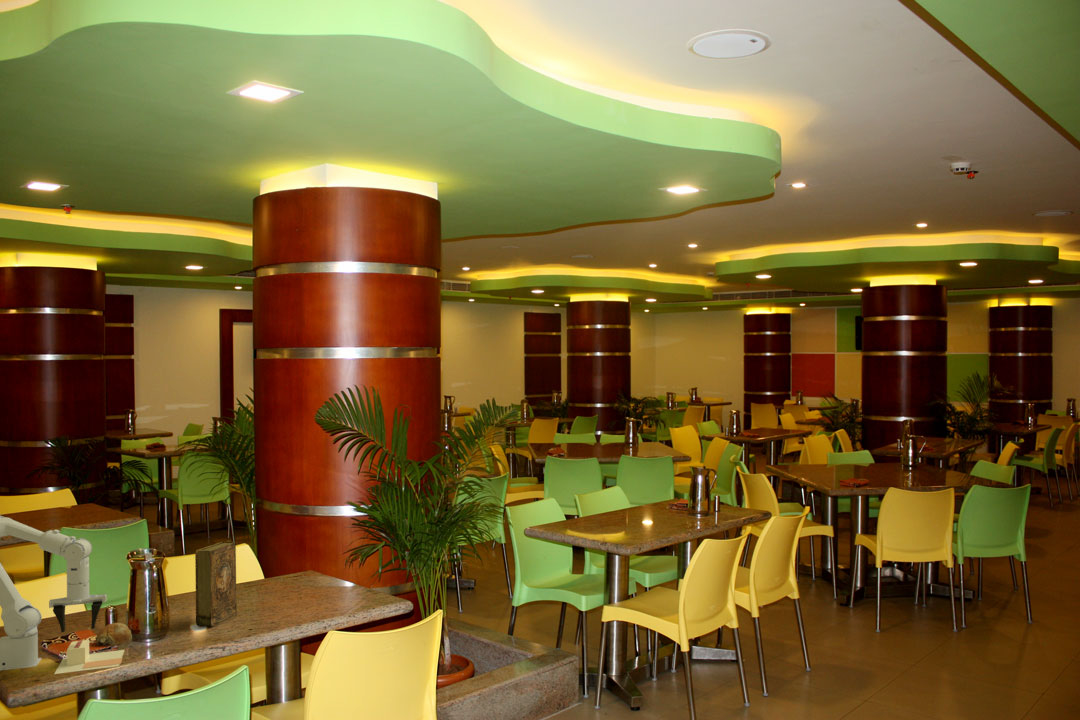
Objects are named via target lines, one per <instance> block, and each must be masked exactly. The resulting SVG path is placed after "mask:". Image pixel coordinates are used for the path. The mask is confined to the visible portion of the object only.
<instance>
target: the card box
mask: <svg viewBox="0 0 1080 720" xmlns="http://www.w3.org/2000/svg"><path fill="white" fill-rule="evenodd" d="M89 654H90V639H85V640H75V641H71V643H70V644H69V645H68V648H67V649H66V657H67V666H69V665H77V664H85V662H86V661H87V659H88V657H89Z"/></svg>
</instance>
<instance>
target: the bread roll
mask: <svg viewBox="0 0 1080 720" xmlns="http://www.w3.org/2000/svg"><path fill="white" fill-rule="evenodd" d="M132 639H133V635H132V630H131V629H130V628H129V627H128V625H126V624H125V623H121V622H113V623H110V624H107V625H106V626H104V627H103V628H101V630H99V632H98V633H97V634H96V637H95V644H96V645H97V646H98V645H105V646H104V647H108V645H112V646H118V645H123V644H126V643H129V642H131V641H132Z"/></svg>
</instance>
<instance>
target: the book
mask: <svg viewBox="0 0 1080 720" xmlns="http://www.w3.org/2000/svg"><path fill="white" fill-rule="evenodd" d="M236 544H237V542H236V541H229V540H228V541H220V542H216V543H214V544H211V545H209V546H205V547H203V548H199V549H196V551H195V554H194V555H195V556H194V559H195V562H194V563H195V570H194V571H195V624H196V627H211V628H213V627H216V626H218V625H221V624H222V623H224V622H227V621H228V620H230V619H232V618H234V617H236V616H237V615H238V614H237V613H238V612H237V611H238V610H237V608H238V607H237V562H236V560H237V549H236V548H237V547H236V546H237V545H236Z"/></svg>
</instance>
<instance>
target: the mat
mask: <svg viewBox="0 0 1080 720" xmlns="http://www.w3.org/2000/svg"><path fill="white" fill-rule="evenodd" d="M124 653H125V649H119V650H111V651H103V652H94V653H93V652H92V653H89V657H88V659H87V661H86V662H85V664H77V665H69V666H67V658H64V657H63V658H62V660H61V662H60V663H59V664H58V667H57V668H56V670H55V672H54V675H59V674H64V673H65V674H67V673H75V672H82V671H90V670H97V669H98V670H99V669H107V668H117V667H119V666H120V665H121V664H122V661H123V659H124V658H123V656H124Z"/></svg>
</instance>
